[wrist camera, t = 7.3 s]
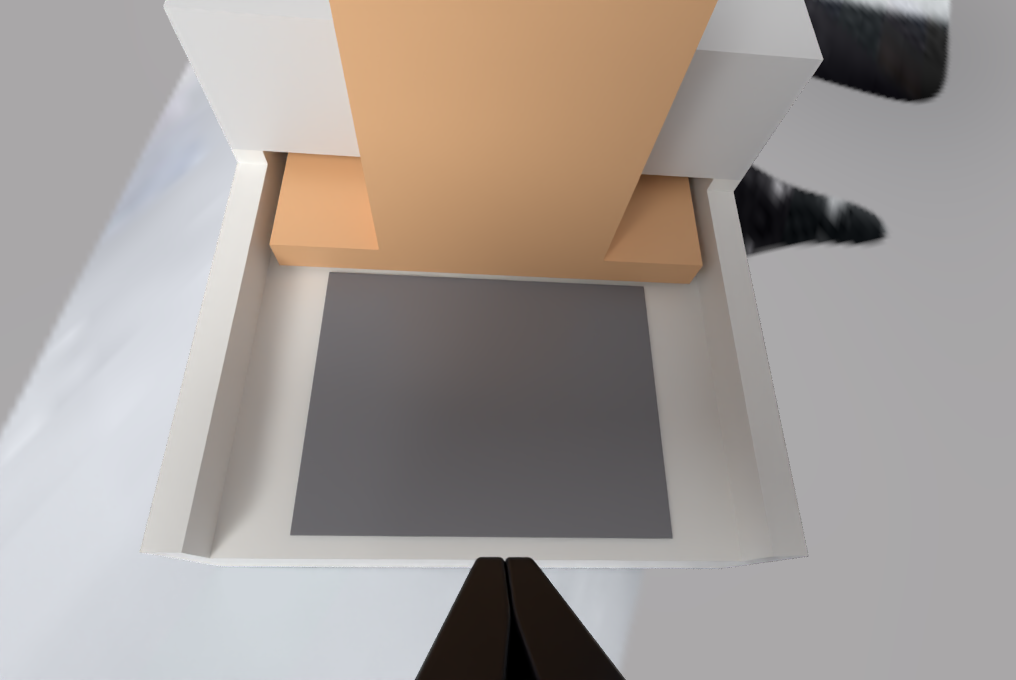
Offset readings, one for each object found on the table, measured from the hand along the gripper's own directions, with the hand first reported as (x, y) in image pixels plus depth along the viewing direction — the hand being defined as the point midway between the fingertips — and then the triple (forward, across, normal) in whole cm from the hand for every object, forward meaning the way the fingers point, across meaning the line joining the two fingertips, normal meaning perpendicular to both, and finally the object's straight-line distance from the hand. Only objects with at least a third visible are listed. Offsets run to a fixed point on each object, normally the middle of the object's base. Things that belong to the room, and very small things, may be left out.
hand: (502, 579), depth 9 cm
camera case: (+14, 0, -3) cm, 14 cm away
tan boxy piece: (+12, 0, -6) cm, 13 cm away
